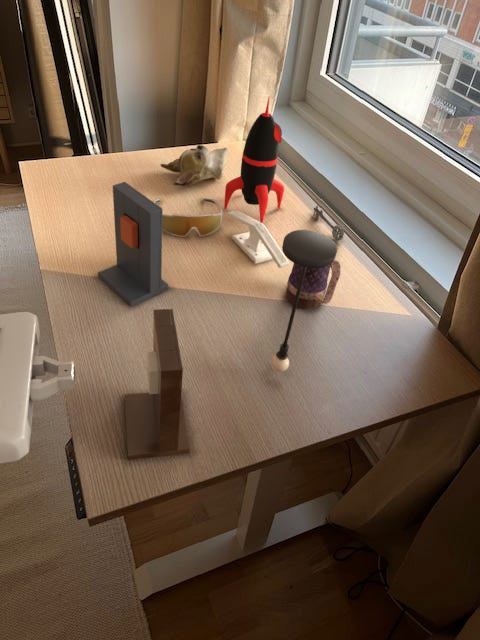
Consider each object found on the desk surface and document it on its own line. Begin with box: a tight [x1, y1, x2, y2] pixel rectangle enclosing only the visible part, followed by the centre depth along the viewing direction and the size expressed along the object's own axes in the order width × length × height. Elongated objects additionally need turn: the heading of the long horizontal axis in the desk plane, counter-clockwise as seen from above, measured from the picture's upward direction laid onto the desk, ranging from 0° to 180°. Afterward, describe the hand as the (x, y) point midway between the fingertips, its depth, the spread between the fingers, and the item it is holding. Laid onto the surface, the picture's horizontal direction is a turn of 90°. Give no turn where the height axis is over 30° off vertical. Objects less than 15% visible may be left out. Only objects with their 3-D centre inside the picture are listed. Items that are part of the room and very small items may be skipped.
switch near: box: [146, 350, 158, 394], centre depth 64 cm, size 1×3×4 cm, turn 12°
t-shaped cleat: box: [227, 209, 291, 269], centre depth 103 cm, size 4×20×6 cm, turn 31°
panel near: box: [124, 308, 191, 461], centre depth 66 cm, size 8×10×17 cm
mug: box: [285, 259, 342, 310], centre depth 90 cm, size 10×7×12 cm
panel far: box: [97, 181, 169, 307], centre depth 87 cm, size 8×10×17 cm
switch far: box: [120, 215, 138, 249], centre depth 85 cm, size 1×3×4 cm, turn 44°
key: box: [312, 205, 345, 242], centre depth 112 cm, size 12×1×3 cm, turn 24°
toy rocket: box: [223, 94, 285, 224], centre depth 108 cm, size 10×10×25 cm
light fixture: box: [271, 229, 338, 373], centre depth 72 cm, size 7×7×25 cm
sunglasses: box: [153, 198, 223, 238], centre depth 109 cm, size 14×15×5 cm
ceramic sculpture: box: [160, 144, 229, 188], centre depth 120 cm, size 11×9×15 cm
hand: (74, 374), depth 62 cm, fingers closed
